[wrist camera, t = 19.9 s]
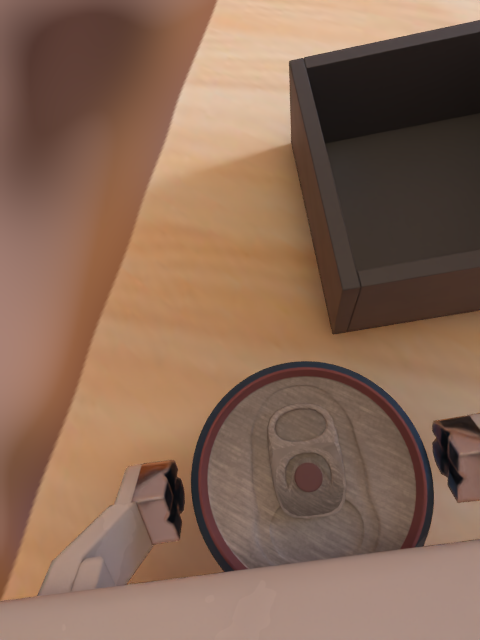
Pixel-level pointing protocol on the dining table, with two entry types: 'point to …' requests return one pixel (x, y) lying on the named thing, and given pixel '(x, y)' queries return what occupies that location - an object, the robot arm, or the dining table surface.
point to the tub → (392, 175)
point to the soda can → (309, 470)
